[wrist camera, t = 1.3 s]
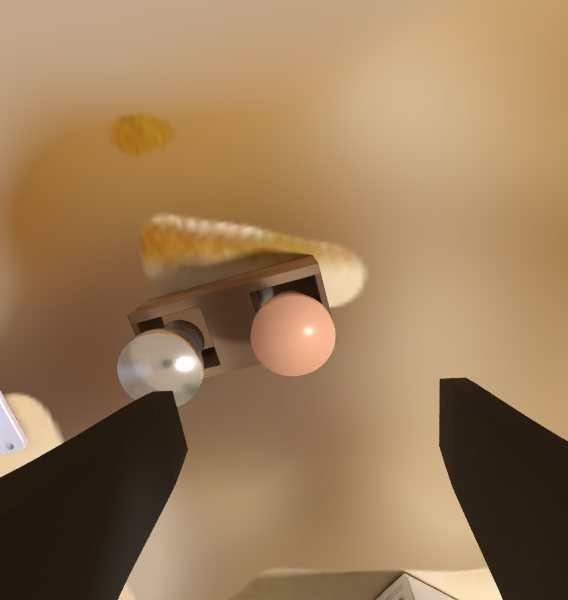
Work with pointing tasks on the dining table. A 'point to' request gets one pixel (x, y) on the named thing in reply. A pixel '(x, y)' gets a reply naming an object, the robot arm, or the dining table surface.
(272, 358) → the terracotta plug
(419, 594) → the tea box
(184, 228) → the dining table surface
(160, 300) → the plug block
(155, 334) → the grey plug
